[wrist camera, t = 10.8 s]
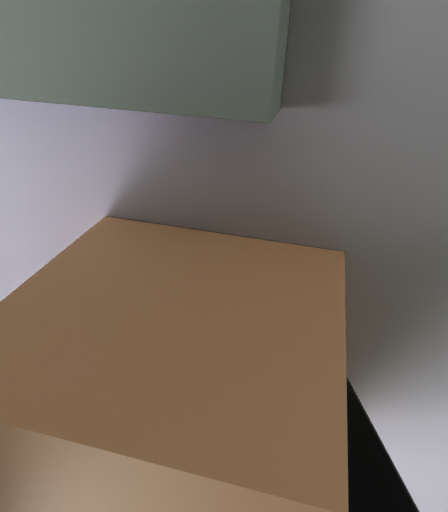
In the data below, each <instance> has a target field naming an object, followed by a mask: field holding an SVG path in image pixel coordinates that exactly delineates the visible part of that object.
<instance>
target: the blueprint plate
mask: <svg viewBox="0 0 448 512" xmlns="http://www.w3.org/2000/svg"><path fill="white" fill-rule="evenodd" d="M290 8H291V0H0V98H2V99H13V100H24V101H35V102H46V103H57V104H67V105H78V106H89V107H100V108H111V109H122V110H132V111H143V112H154V113H165V114H176V115H187V116H198V117H208V118H219V119H230V120H241V121H252V122H263V123H270V122H271V121H272V119H273V118H274V117H275V115H276V114H277V112H278V111H279V110H280V106H281V96H282V87H283V77H284V67H285V57H286V47H287V38H288V28H289V18H290Z"/></svg>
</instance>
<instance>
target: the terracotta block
mask: <svg viewBox="0 0 448 512" xmlns="http://www.w3.org/2000/svg"><path fill="white" fill-rule="evenodd" d="M0 512H348V443H347V373H346V303H345V252H342V251H335V250H328V249H322V248H315V247H308V246H302V245H295V244H288V243H282V242H275V241H268V240H261V239H255V238H248V237H241V236H235V235H228V234H221V233H215V232H208V231H201V230H194V229H188V228H181V227H174V226H168V225H161V224H154V223H148V222H141V221H134V220H127V219H121V218H114V217H107V216H105V217H104V218H103V219H102V220H100V221H99V222H98V223H97V224H95V225H94V226H93V227H92V228H90V229H89V230H88V231H87V232H86V233H84V234H83V235H82V236H81V237H79V238H78V239H77V240H76V241H75V242H73V243H72V244H71V245H70V246H68V247H67V248H66V249H65V250H64V251H62V252H61V253H60V254H59V255H57V256H56V257H55V258H54V259H52V260H51V261H50V262H49V263H48V264H46V265H45V266H44V267H43V268H41V269H40V270H39V271H38V272H37V273H35V274H34V275H33V276H32V277H30V278H29V279H28V280H27V281H26V282H24V283H23V284H22V285H21V286H19V287H18V288H17V289H16V290H14V291H13V292H12V293H11V294H10V295H8V296H7V297H6V298H5V299H3V300H2V301H1V302H0Z"/></svg>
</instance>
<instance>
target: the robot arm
mask: <svg viewBox="0 0 448 512" xmlns="http://www.w3.org/2000/svg"><path fill="white" fill-rule="evenodd" d="M347 443H348V512H419V510H418V508H417V506H416V504H415V503H414V501H413V499H412V497H411V495H410V493H409V491H408V490H407V488H406V486H405V484H404V482H403V480H402V478H401V477H400V475H399V473H398V471H397V469H396V467H395V465H394V463H393V462H392V460H391V458H390V456H389V454H388V452H387V450H386V449H385V447H384V445H383V443H382V441H381V439H380V437H379V436H378V434H377V432H376V430H375V428H374V426H373V424H372V423H371V421H370V419H369V417H368V415H367V413H366V411H365V409H364V408H363V406H362V404H361V402H360V400H359V398H358V396H357V395H356V393H355V391H354V389H353V387H352V385H351V383H350V382H349V380H348V378H347Z"/></svg>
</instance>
